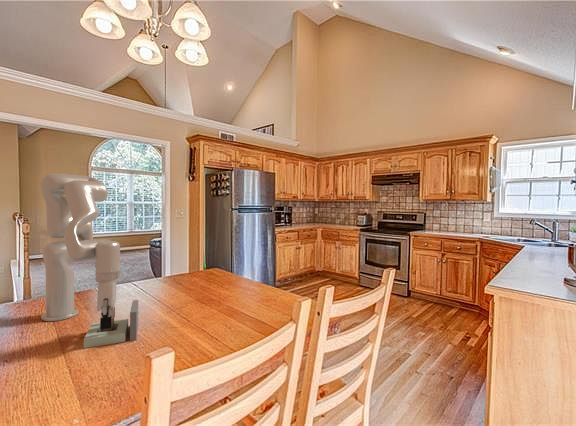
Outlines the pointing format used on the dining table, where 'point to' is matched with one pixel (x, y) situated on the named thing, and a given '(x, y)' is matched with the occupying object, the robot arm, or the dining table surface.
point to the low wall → (134, 320)
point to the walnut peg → (111, 322)
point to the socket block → (106, 334)
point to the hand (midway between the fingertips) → (107, 323)
